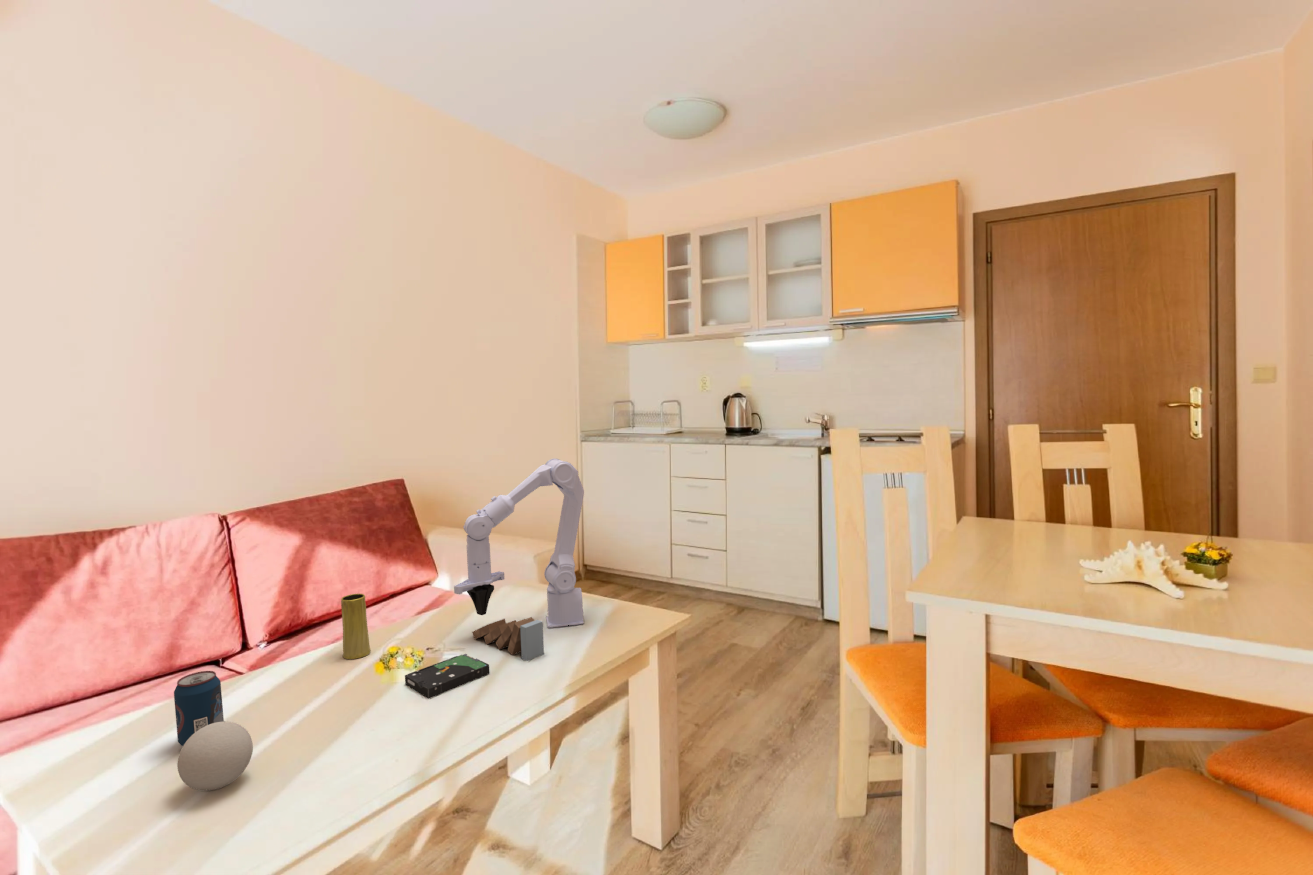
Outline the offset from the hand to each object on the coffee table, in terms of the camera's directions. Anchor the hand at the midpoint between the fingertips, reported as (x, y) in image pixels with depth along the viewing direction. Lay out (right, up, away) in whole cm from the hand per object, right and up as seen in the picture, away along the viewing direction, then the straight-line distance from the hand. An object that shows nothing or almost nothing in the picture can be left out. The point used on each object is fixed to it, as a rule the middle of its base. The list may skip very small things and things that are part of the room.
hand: (481, 613), depth 162 cm
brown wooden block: (+8, -6, -6) cm, 11 cm away
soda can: (-39, -11, -46) cm, 61 cm away
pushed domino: (0, -5, +1) cm, 5 cm away
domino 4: (+16, -7, -13) cm, 21 cm away
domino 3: (+12, -6, -9) cm, 16 cm away
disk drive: (-1, -8, -24) cm, 25 cm away
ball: (-26, -11, -60) cm, 66 cm away
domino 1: (+4, -5, -3) cm, 7 cm away
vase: (-28, -8, -9) cm, 30 cm away
